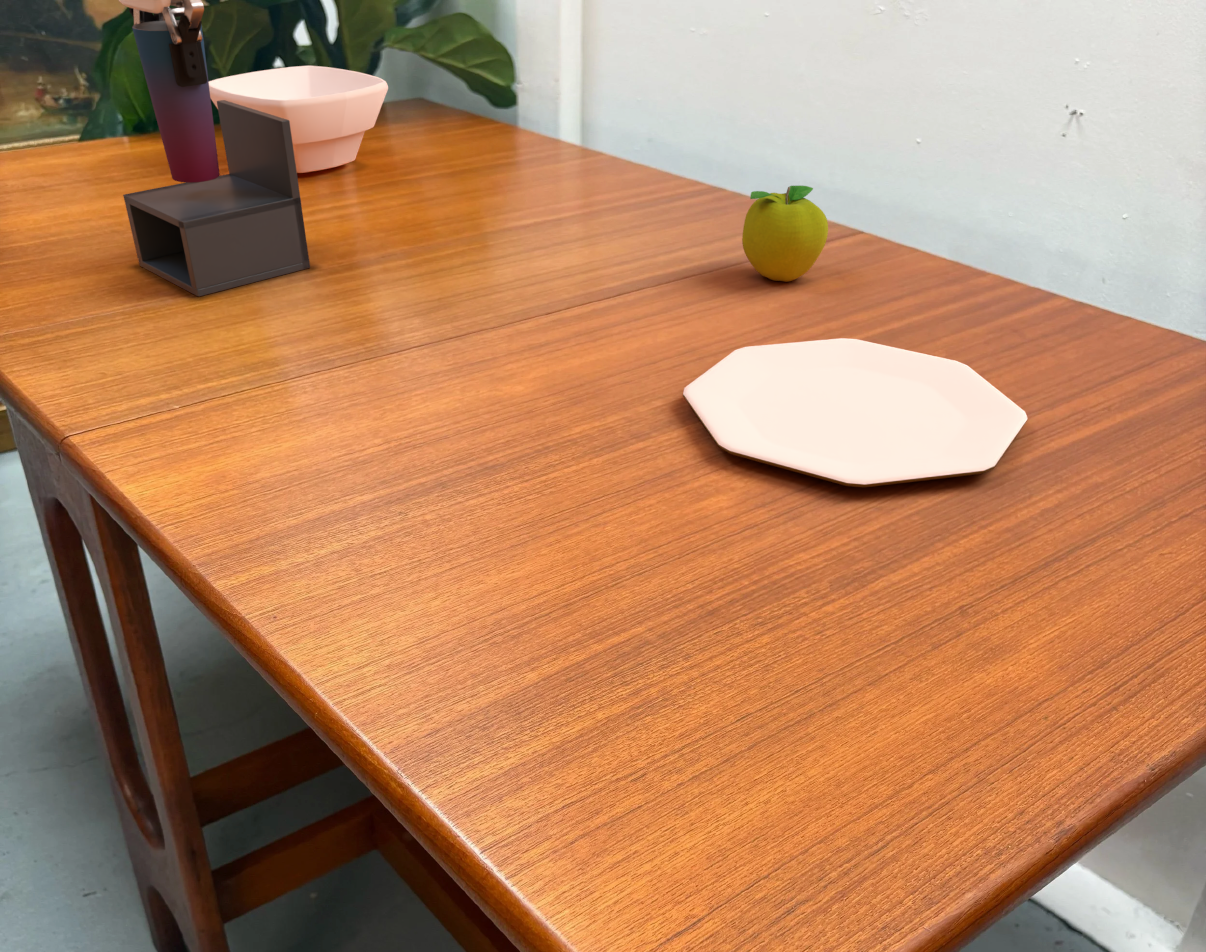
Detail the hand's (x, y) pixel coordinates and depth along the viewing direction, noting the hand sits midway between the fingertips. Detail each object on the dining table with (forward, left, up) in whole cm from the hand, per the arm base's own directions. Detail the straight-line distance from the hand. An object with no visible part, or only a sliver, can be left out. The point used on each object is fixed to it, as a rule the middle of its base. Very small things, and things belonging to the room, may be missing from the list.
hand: (176, 78), depth 119 cm
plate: (+21, -74, -20) cm, 80 cm away
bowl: (+32, +31, -20) cm, 49 cm away
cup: (0, 0, -10) cm, 10 cm away
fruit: (+45, -47, -20) cm, 68 cm away
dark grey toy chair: (+1, -1, -20) cm, 20 cm away
